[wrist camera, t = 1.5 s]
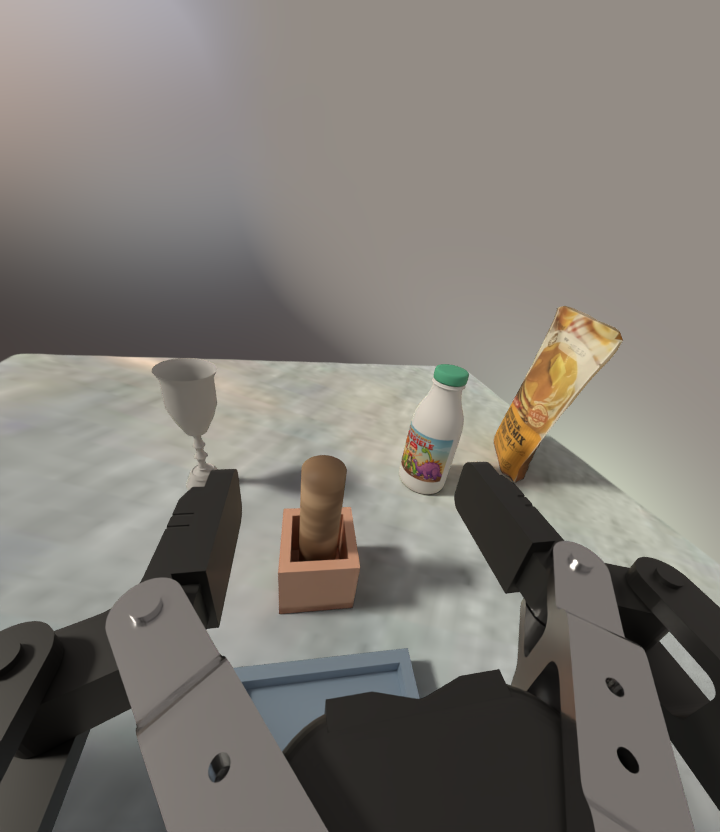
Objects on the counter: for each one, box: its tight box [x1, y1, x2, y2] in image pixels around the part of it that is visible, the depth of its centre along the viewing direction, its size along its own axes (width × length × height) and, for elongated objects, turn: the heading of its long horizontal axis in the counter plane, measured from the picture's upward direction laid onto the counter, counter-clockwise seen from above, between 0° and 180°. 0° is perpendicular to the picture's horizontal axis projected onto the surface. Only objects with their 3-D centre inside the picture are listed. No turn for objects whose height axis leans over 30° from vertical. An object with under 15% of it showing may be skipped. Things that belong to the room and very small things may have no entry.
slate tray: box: [233, 648, 420, 751], centre depth 23 cm, size 16×11×2 cm
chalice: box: [152, 358, 218, 490], centre depth 42 cm, size 7×7×18 cm
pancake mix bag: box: [494, 306, 623, 483], centre depth 54 cm, size 7×19×28 cm, turn 166°
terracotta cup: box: [278, 507, 360, 614], centre depth 34 cm, size 8×8×7 cm
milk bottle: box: [399, 364, 469, 494], centre depth 47 cm, size 8×8×20 cm
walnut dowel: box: [299, 455, 347, 562], centre depth 31 cm, size 4×4×15 cm
